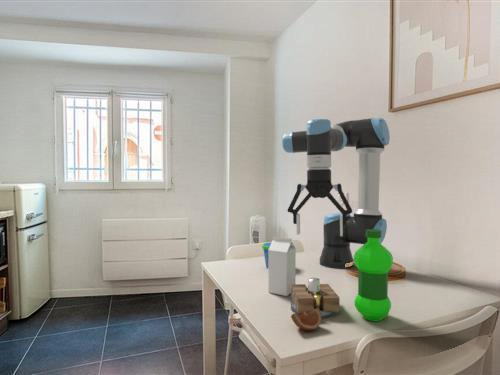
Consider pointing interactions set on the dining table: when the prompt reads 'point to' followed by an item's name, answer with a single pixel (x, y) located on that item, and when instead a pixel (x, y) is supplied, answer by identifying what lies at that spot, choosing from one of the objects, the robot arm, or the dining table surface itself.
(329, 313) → the post base
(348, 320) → the dining table surface
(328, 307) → the flange block
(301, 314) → the fruit slice
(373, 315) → the plastic bottle
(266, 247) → the snack cup
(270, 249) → the milk carton
